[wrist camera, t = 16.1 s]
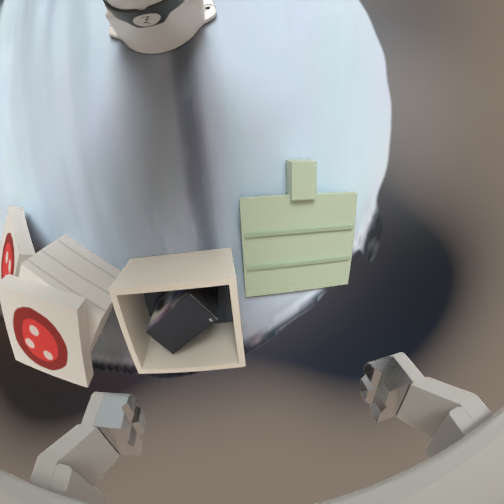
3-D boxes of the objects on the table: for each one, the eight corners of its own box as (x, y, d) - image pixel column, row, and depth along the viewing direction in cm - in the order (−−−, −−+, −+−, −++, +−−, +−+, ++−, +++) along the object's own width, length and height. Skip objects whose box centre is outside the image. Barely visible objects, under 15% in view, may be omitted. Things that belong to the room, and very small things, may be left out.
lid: (236, 162, 42) (238, 164, 39) (351, 159, 44) (361, 162, 41) (244, 289, 52) (246, 300, 49) (342, 277, 54) (349, 286, 51)
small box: (193, 263, 48) (189, 291, 38) (219, 288, 50) (221, 320, 40) (154, 299, 49) (143, 332, 39) (179, 321, 51) (174, 356, 41)
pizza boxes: (23, 192, 38) (-39, 214, 22) (142, 272, 47) (112, 331, 30) (5, 269, 42) (-43, 307, 25) (108, 341, 51) (82, 402, 34)
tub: (130, 258, 46) (108, 289, 35) (230, 247, 48) (236, 276, 36) (150, 332, 51) (138, 373, 40) (239, 325, 53) (245, 366, 42)
